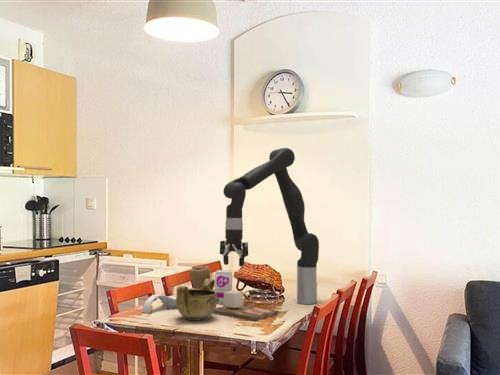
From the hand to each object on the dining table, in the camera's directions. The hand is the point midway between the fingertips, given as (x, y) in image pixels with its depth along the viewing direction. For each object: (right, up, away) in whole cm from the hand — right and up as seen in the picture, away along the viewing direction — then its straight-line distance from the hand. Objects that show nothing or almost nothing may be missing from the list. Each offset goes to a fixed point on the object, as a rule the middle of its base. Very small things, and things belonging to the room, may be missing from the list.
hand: (233, 265), depth 229 cm
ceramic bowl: (-15, -20, -15) cm, 29 cm away
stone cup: (-16, -21, +34) cm, 43 cm away
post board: (+5, -20, -4) cm, 21 cm away
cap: (0, -18, 0) cm, 18 cm away
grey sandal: (-30, -20, +4) cm, 37 cm away
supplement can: (-5, -21, +19) cm, 28 cm away
